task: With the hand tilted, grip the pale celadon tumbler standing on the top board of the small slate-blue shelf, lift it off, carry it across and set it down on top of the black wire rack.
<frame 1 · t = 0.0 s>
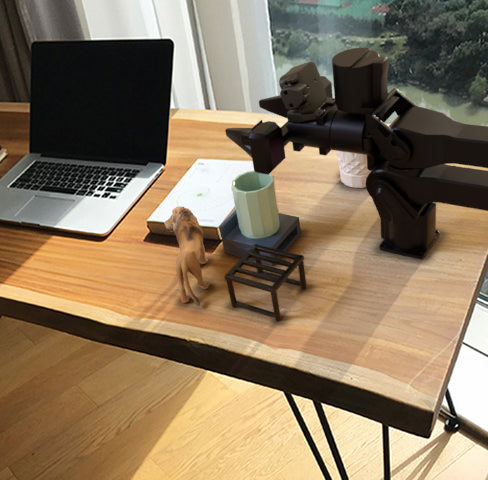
hand: (243, 117, 101), 17 cm above the table, tool horizontal, fingers open, 9 cm apart
lion figurine: (192, 277, 101), on the table
shelf: (262, 243, 104), on the table
white cup: (361, 178, 112), on the table
crystal: (420, 188, 107), on the table
rack: (269, 296, 94), on the table
tumbler: (260, 227, 102), point 3 cm above the table, touching shelf
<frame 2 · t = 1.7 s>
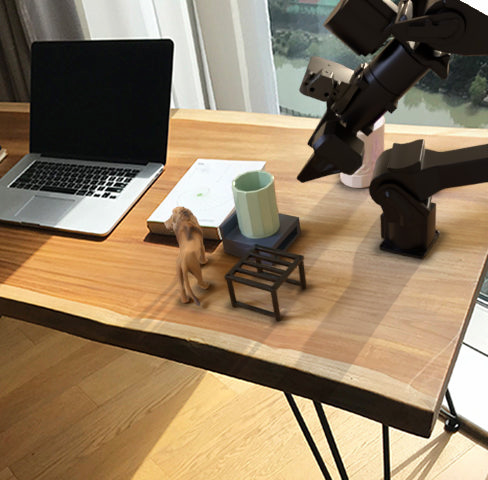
hand: (304, 162, 93), 14 cm above the table, tool tilted 45°, fingers open, 9 cm apart
nothing on the table moved.
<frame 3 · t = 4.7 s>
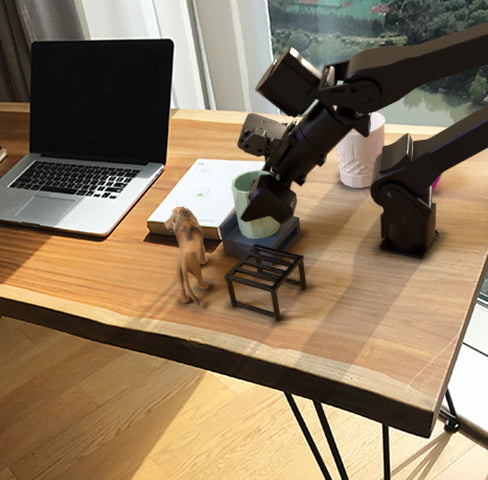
hand: (247, 207, 100), 7 cm above the table, tool tilted 45°, fingers closed on tumbler, 6 cm apart
tumbler: (260, 227, 102), point 3 cm above the table, touching gripper, shelf
everything else where it was.
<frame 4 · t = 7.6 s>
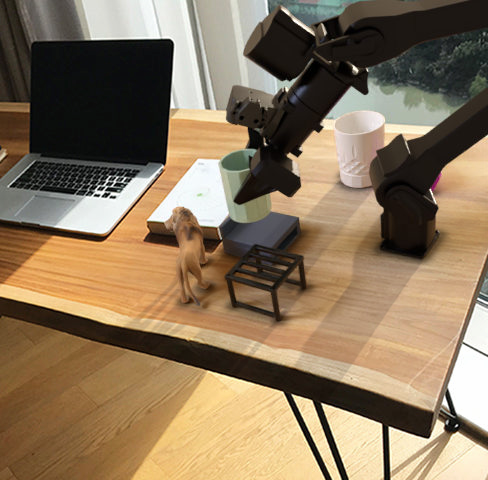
hand: (236, 190, 93), 13 cm above the table, tool tilted 45°, fingers closed on tumbler, 6 cm apart
tumbler: (250, 210, 95), point 9 cm above the table, touching gripper
everything else where it was.
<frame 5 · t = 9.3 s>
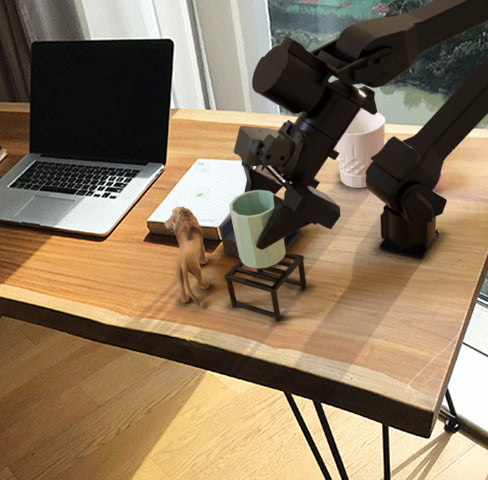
hand: (248, 235, 87), 11 cm above the table, tool tilted 45°, fingers closed on tumbler, 6 cm apart
tumbler: (262, 254, 89), point 7 cm above the table, touching gripper
everything else where it was.
when the fingers open (9 cm above the table, at t = 10.4 s): tumbler stays where it is, resting on rack.
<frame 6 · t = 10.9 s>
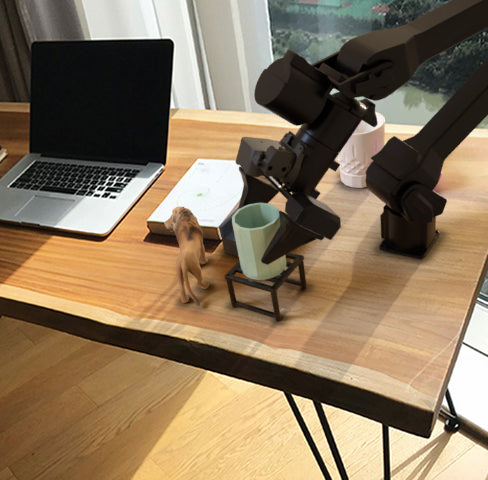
hand: (249, 244, 88), 10 cm above the table, tool tilted 45°, fingers open, 9 cm apart
tumbler: (264, 265, 91), point 5 cm above the table, touching rack
everything else where it was.
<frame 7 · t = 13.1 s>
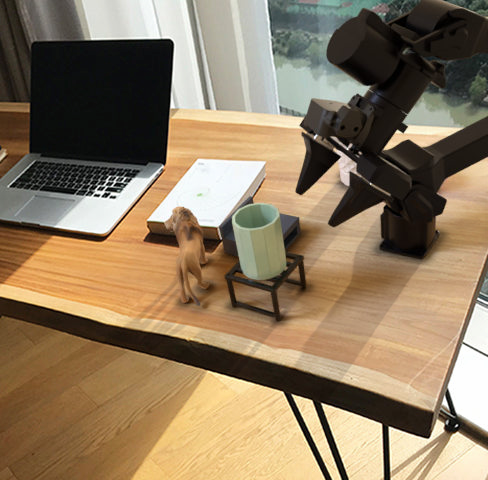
hand: (313, 209, 88), 11 cm above the table, tool tilted 45°, fingers open, 9 cm apart
nothing on the table moved.
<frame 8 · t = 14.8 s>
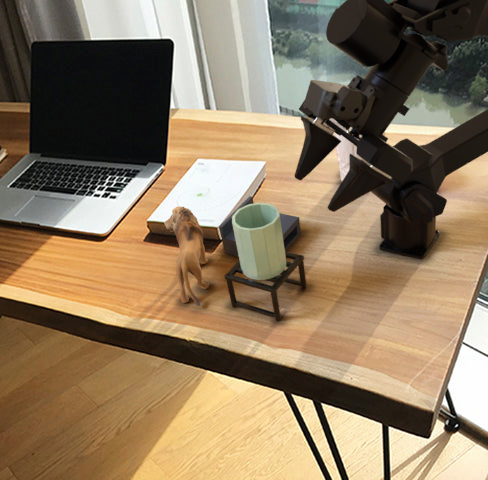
hand: (313, 193, 87), 14 cm above the table, tool tilted 45°, fingers open, 9 cm apart
nothing on the table moved.
at the end: tumbler 0.0 cm off-centre on the rack, point 5.5 cm above the rack's base; tumbler tilted 0°; the gripper is holding nothing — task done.
